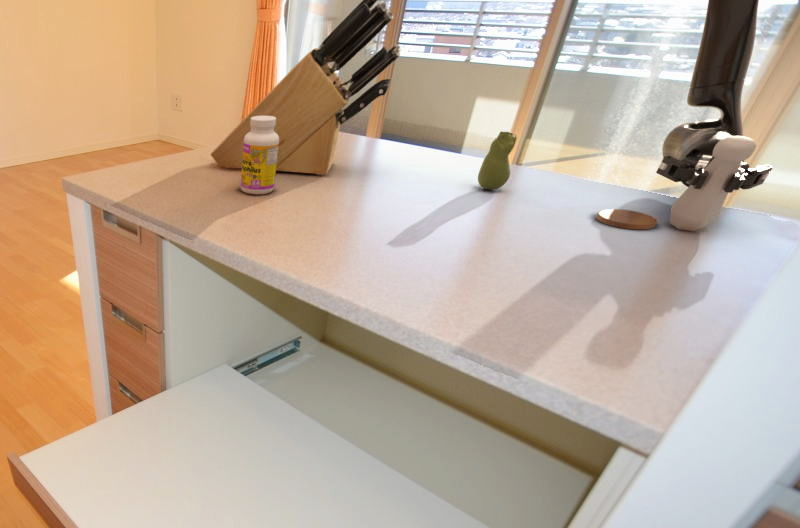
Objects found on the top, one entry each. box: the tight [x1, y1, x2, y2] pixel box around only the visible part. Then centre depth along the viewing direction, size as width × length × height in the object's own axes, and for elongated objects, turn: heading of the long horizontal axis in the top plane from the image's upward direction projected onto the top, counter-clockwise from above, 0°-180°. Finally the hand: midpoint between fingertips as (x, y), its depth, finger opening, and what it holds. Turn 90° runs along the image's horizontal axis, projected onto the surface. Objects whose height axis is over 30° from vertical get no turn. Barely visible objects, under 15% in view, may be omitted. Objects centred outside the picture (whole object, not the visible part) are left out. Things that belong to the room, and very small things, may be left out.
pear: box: [477, 130, 518, 191], centre depth 102 cm, size 6×5×10 cm
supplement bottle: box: [239, 116, 279, 196], centre depth 103 cm, size 7×7×13 cm
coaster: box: [595, 208, 658, 231], centre depth 89 cm, size 8×8×1 cm
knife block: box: [210, 0, 402, 176], centre depth 111 cm, size 11×35×31 cm, turn 69°
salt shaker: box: [669, 135, 757, 232], centre depth 81 cm, size 6×6×13 cm
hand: (717, 183), depth 79 cm, fingers closed on salt shaker, 3 cm apart
